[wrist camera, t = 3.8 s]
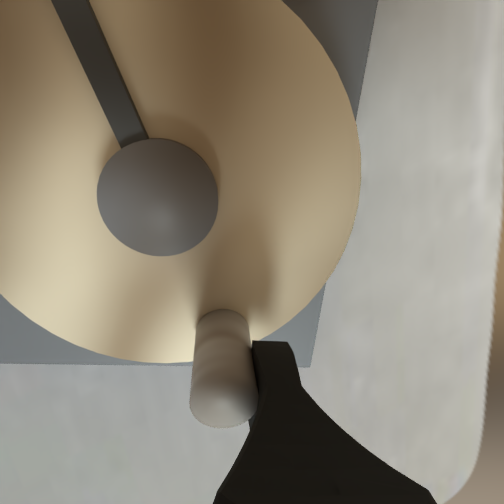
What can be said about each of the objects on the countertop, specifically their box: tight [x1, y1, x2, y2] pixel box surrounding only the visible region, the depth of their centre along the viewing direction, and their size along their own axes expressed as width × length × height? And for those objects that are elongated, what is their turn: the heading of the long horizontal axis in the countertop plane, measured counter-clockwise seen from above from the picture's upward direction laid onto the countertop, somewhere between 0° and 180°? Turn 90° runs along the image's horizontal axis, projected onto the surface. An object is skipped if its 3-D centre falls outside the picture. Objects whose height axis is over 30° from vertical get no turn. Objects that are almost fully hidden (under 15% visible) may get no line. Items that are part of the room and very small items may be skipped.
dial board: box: [0, 0, 378, 367], centre depth 13 cm, size 14×16×3 cm
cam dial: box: [0, 0, 361, 428], centre depth 11 cm, size 13×13×5 cm
